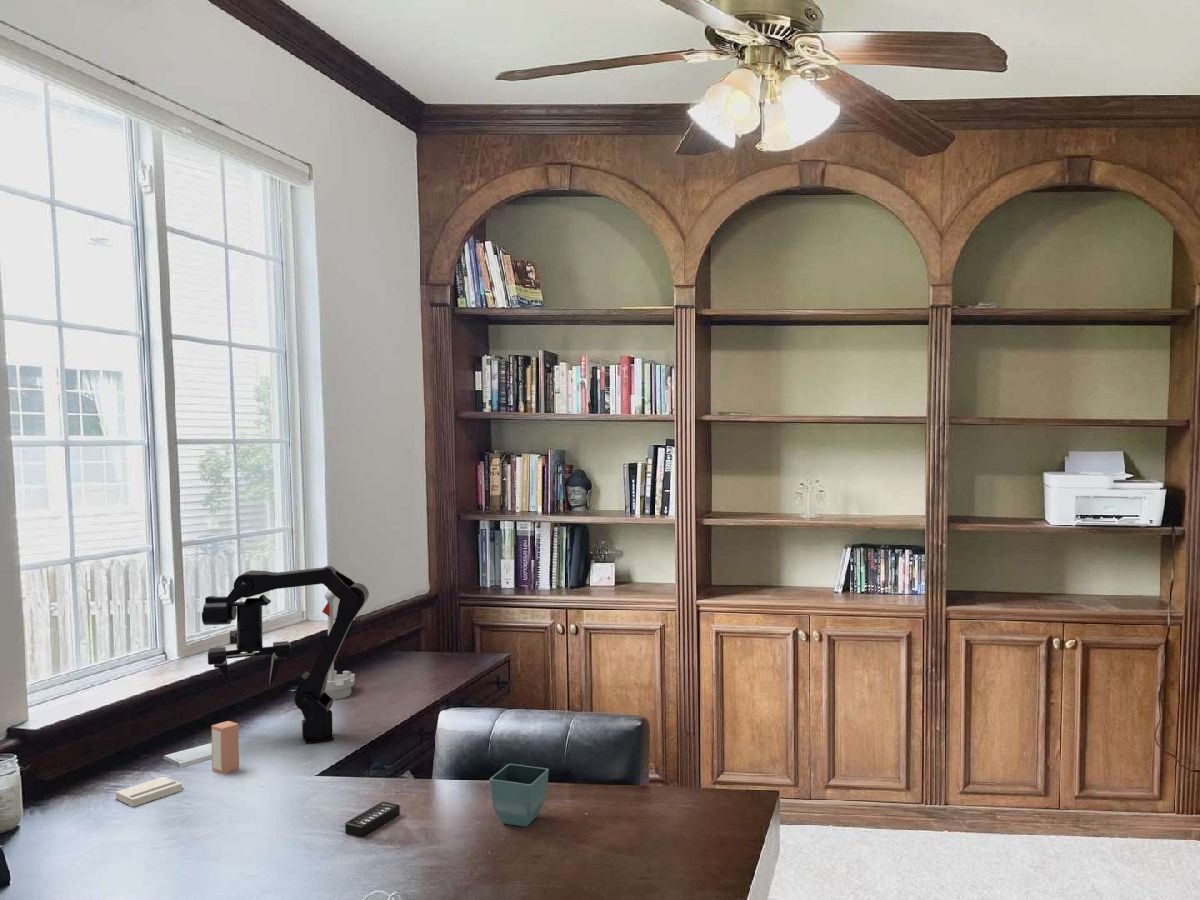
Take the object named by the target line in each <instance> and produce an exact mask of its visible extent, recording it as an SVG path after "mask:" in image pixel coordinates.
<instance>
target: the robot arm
mask: <svg viewBox="0 0 1200 900" xmlns="http://www.w3.org/2000/svg"><path fill="white" fill-rule="evenodd" d="M314 585H323V586H325V587H326V588H327V589H328V591H329V590H330V591H331V592H332V593H333V594H334V595H335V598H337V599H338V600H339V602H338V606H337V611H336V617H335V620H334V621H333V626H332V629H331V631H330V633H329V635H328V634H327V637H326V639H325V642H324V644H323V646H322V648H321V651H320V653H319V655H318V657H317V660H316V662H315V664H314V666H313V669H312V670H311V672H308V671H305V672H304V673H303V674H302V676H301V677H299V681H298V685H297V687H296V689H295V690H294V691H293V694H295V695H294V697H293V699H294V701H293V702H294V704H295V706H296V707H297V708H298V709H299V710H300V711H301V713H302V715H303V719H301V738H302V740H303V741H304V742H305V744H307V745H308V744H315V743H321V742H323V743H324V742H328V741H329V740H330V741H333V740H335V738H334V735H333V712H332V710H331V708H332V706H333V705H334V704H333V703H334V700H333V699H332V698H331V697H330V696H329V695H328V694H327V693H326V692H325V688H326V684H327V679H328V673H329V671H330V669H331V666H332V664H333V662H334V663H335V660H336V658H337V656H338V653H339V652H340V651H339V650H340V649H341V646H342V644H343V642H344V640H345V638H346V636H347V633H348V632H349V629H350V627H351V624H352V622H353V621H354V620H355V618H356V617H357V615H358V614H359V613H360V612H361V610H362V608H363V607H364V605H365V604H366V602H367V601H368V599H369V596H370V592H369V589H368V588H367V586H365V585H364V584H363V583H360V582H356V581H354V580H352V579H351V578H349V577H348V576H346V575H345V574H343V573H341V572H340V571H339V570H337V569H336V568H335V567H334V566H331V565H326V566H324V567H316V568H306V569H298V570H289V571H281V572H280V571H279V572H278V571H277V572H275V571H266V570H256V569H253V570H248V571H246V572H244V573H242V574H240V575H238V576H237V577H236V578H235V580H234V582H233V589H232V590H231V591H230V593H229V594H227V596H215V595H211V596H210V595H209V596H206V597H205V598H204V601H205V602H204V605H203V608H202V612H201V621H202V624H203V625H204V626H215V625H219V626H220V625H224V626H225V625H231V623H232V621H235V620H236V630H230V631H229V645H230V646H232V645H236V649H233V650H232V649H230V650H227V649H226V647H225V646H223V647H212V648H209V649H208V650H207V664H208V665H209V666H212V665H213V667H214V668H216V669H217V668H218V669H219V670H220V672H221V674H222V676H223V678H224V681H225V684H226V686H227V689H228V691H229V692H230V691H231V692H232V683H231V677H230V672H229V665H228V659H237V658H247V657H257V656H266V655H271V662H270V663H271V664H270V672H269V687H272V686H273V683H274V681H275V678H276V675H277V672H278V670H279V668H280V666H281V664H282V662H284V661H287V658H289V657H290V658H291V657H292V656H293V653H292V652H293V649H292V648H293V647H292V645H291V643H290V642H289V641H287V640H285V641H275V642H272V645H271V646H263V642H264V641H263V606H265V607H266V606H268V605H269V604H271V603H272V600H271V599H269V597H267V596H266V595H265V593H267V592H270V591H274V590H279V589H287V588H288V589H289V588H296V587H297V588H298V587H304V586H314ZM254 596H259V597H254ZM243 598H245V601H239V600H241V599H243ZM330 741H329V742H330Z"/></svg>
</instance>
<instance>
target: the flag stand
mask: <svg viewBox="0 0 1200 900" xmlns="http://www.w3.org/2000/svg"><path fill="white" fill-rule="evenodd" d="M324 599H326V601H327V603H326V605H325V606H324V608H323V609H322V611H321V612H322V613H323V614H324V615H326V616H327V636H328V635H329V633H330V631H331V629H332V626H333V624H334V599H336V596H335V595H334V594H333V593H332V592H331V591H330V590H329V589H328V590H327V591H326V592H325V594H324ZM337 673H338V671H337V670H335V661H334V662H333V664H332V666H331V669H330V671H329V673H328V679H327V684H326V688H325V692H326V693H327V694H328V695H329V696H330V697H331V698H332V699H333V701H335V700H340V698H341V699H344V697H345V698H347V697H346V696H348V697H349V696H351V695H352V687H353V686H355V683H356V676H355V673H352V671H349V670H344V671H342V674H339V673H338V674H337ZM350 694H351V695H350Z"/></svg>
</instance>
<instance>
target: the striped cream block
mask: <svg viewBox="0 0 1200 900" xmlns="http://www.w3.org/2000/svg"><path fill="white" fill-rule="evenodd" d="M182 785H183V784H182V783H181V782H179V781H176V780H173V779H171V778H168V777H166V776H162V777H158V778H154V779H151V780H149V781H145V782H142V783H139V784H136V785H133V786H130V787H129V786H128V787H126V788H123V789H120V790H117V791H115V800H116V799H118V800H117V801H119V800H120V801H119V802H121V801H122V802H121V803H123V802H124V804H125V803H126V804H125V805H127V804H128V806H130V805H131V806H130V807H132V806H133V807H132V808H134V806H135V807H138V806H141V805H143V803H144V804H147V803H150V802H152V801H151V800H153V801H155V799H156V800H158V798H159V799H161V798H160V797H162V798H164V796H165V797H167V796H170V795H173V794H176V793H179V792H181V790H184V787H182ZM178 791H179V792H178ZM175 792H176V793H175ZM172 793H173V794H172ZM169 794H170V795H169ZM166 795H167V796H166ZM149 801H150V802H149ZM146 802H147V803H146ZM140 804H141V805H140ZM137 805H138V806H137Z"/></svg>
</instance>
